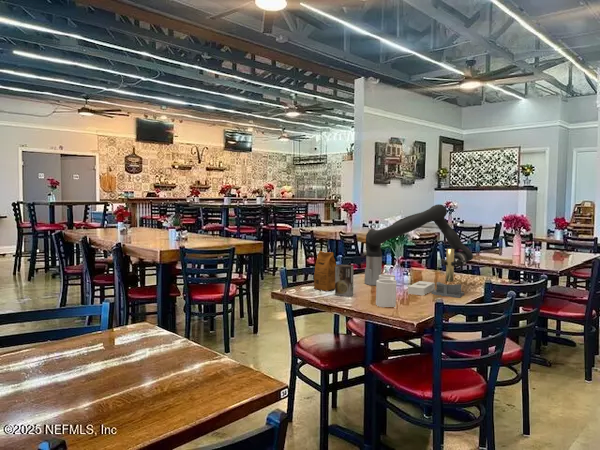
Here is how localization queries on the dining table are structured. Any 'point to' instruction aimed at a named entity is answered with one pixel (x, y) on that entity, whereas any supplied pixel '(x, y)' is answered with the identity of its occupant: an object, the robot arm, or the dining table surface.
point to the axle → (449, 265)
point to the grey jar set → (386, 291)
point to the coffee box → (344, 280)
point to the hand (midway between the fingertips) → (448, 263)
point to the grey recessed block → (421, 288)
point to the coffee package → (325, 271)
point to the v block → (448, 290)
